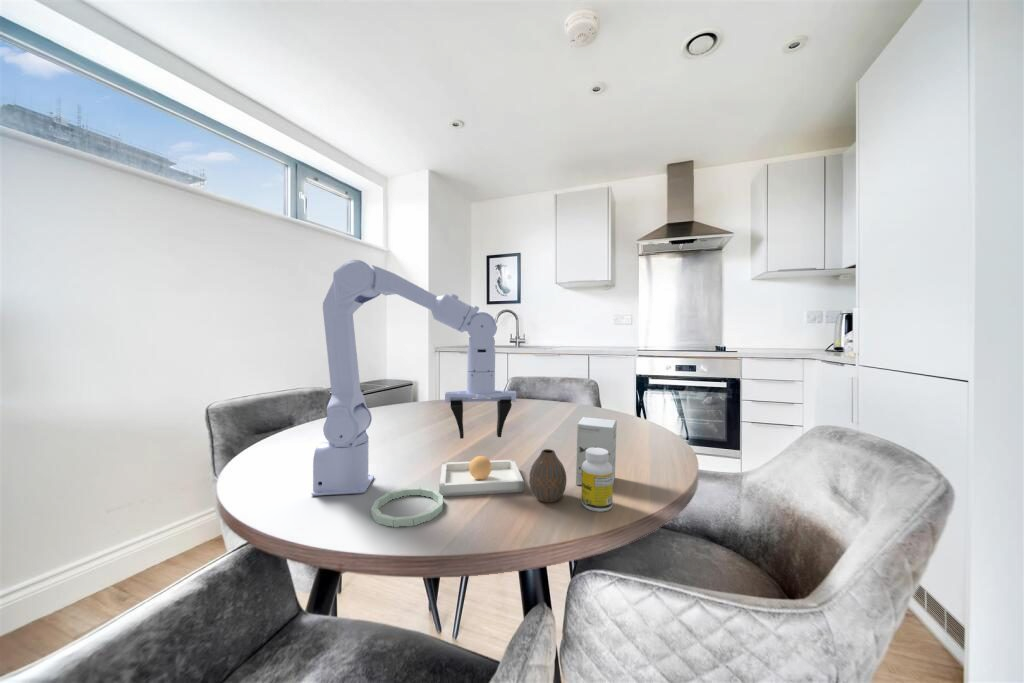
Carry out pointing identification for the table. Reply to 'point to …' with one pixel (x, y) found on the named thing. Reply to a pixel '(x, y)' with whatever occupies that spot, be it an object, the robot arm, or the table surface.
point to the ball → (480, 467)
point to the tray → (463, 483)
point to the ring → (407, 520)
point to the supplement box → (595, 441)
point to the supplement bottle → (597, 480)
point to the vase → (547, 477)
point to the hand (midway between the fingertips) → (480, 436)
